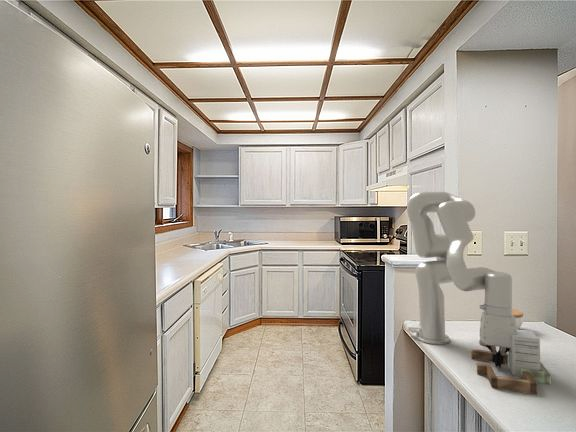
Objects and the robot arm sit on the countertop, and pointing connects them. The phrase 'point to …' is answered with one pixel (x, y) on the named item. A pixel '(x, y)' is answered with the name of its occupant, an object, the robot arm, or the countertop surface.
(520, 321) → the lidded jar
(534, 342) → the supplement box
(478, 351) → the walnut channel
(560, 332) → the countertop surface
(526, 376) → the brown wooden bent piece
